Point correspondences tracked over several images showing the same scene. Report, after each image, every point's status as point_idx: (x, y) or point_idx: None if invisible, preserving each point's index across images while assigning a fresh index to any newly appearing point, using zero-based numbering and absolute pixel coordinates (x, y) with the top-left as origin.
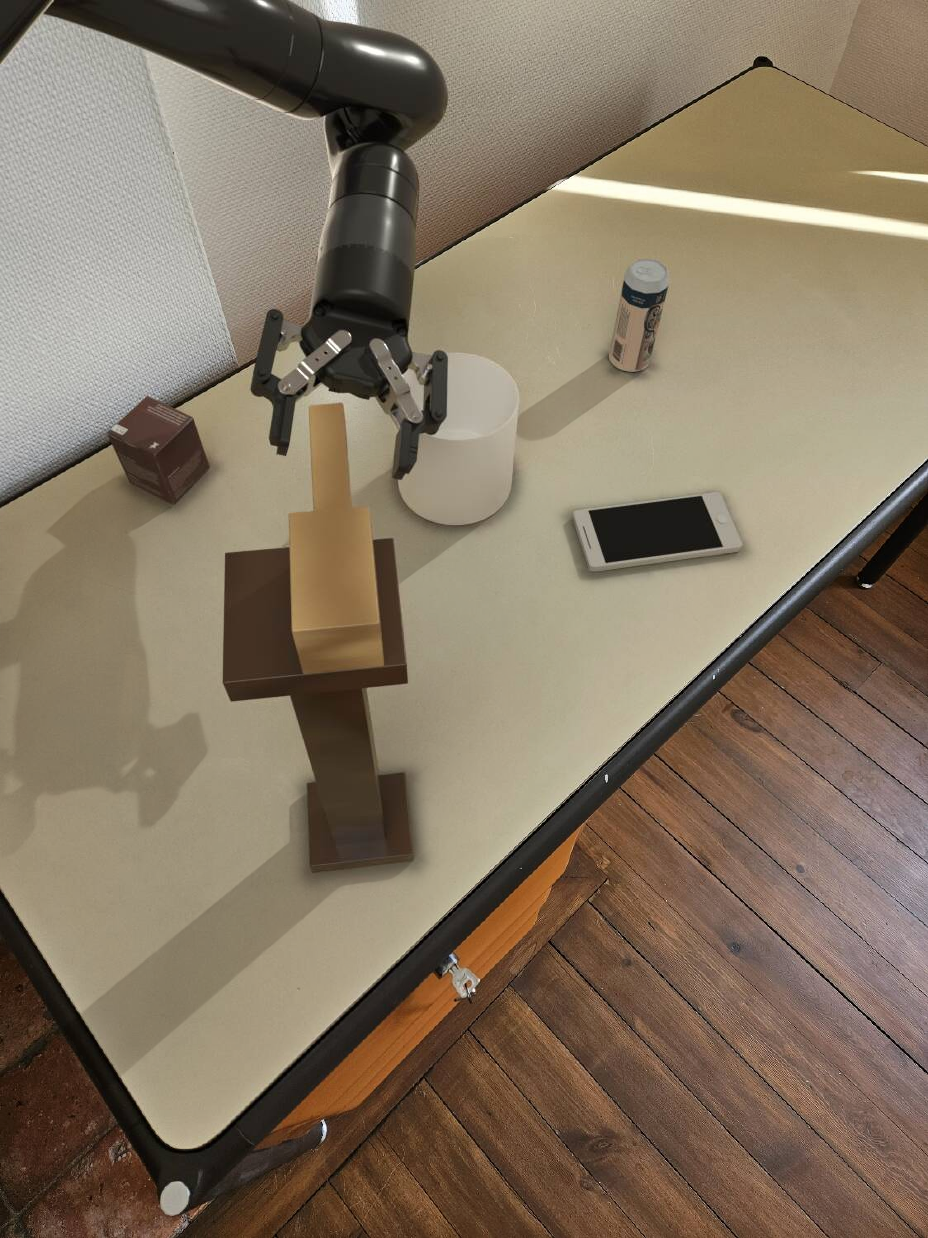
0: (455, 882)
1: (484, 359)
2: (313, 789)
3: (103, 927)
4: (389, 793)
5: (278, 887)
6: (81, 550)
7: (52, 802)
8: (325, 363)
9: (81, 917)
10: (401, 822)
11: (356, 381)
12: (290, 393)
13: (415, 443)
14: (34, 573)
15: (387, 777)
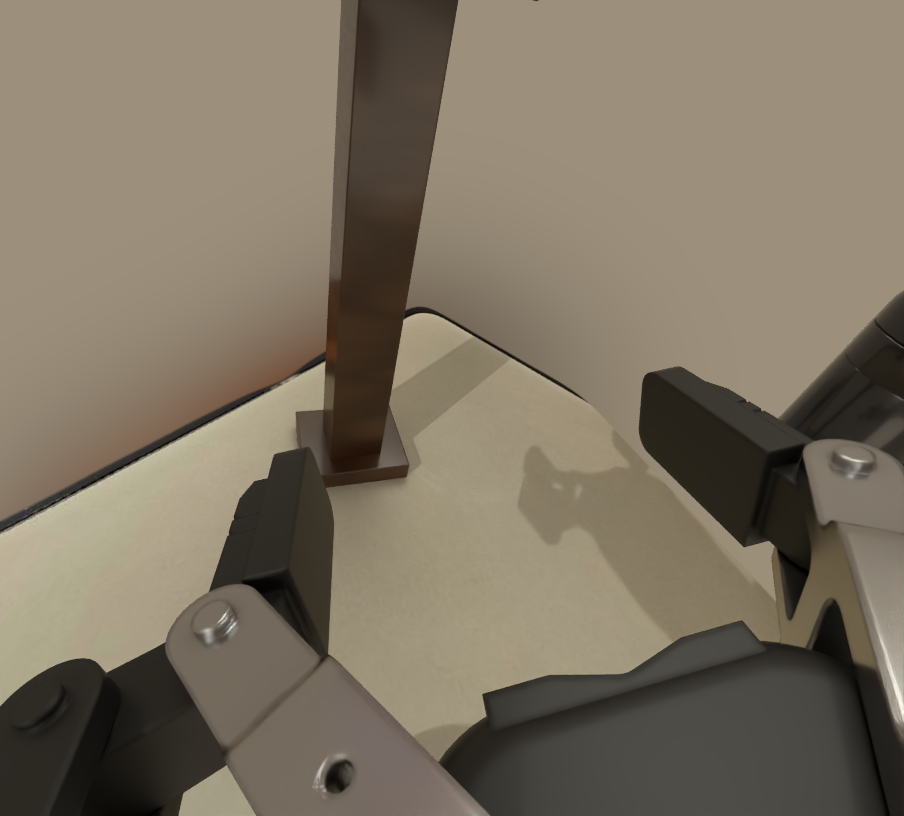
0: (255, 411)
1: None
2: (401, 458)
3: (524, 392)
4: (321, 457)
5: (412, 410)
6: None
7: (615, 461)
8: (861, 604)
9: (542, 397)
10: (307, 434)
11: (606, 680)
12: (804, 451)
13: (236, 546)
14: None
15: (324, 471)
